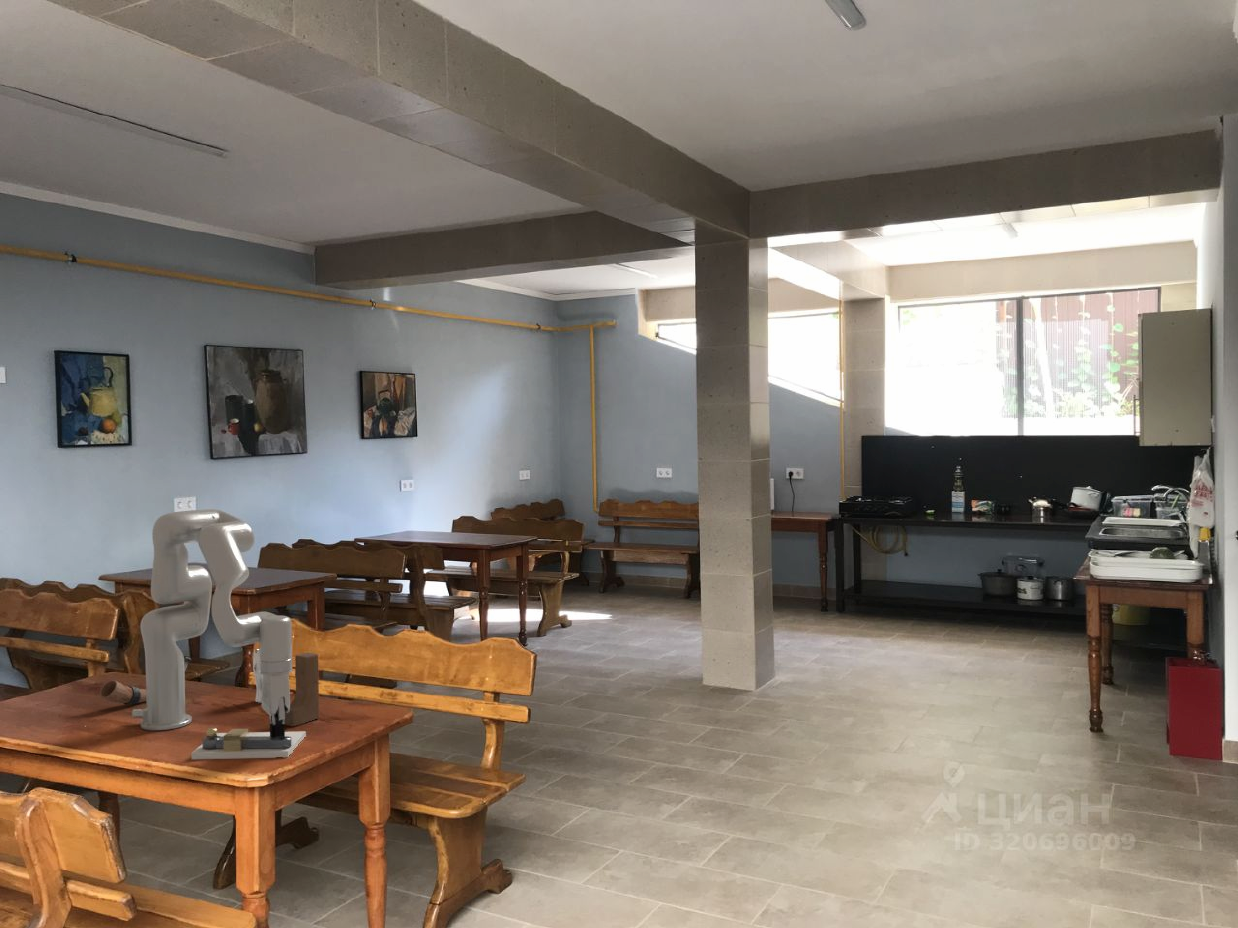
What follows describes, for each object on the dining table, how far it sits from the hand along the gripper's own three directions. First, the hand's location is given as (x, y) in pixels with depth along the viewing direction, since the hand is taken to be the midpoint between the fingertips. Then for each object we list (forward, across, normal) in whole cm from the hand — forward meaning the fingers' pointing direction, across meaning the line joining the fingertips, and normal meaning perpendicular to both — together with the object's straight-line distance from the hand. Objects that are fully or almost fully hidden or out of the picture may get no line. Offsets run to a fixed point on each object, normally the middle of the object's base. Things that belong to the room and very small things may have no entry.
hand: (277, 738), depth 247 cm
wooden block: (+3, -20, +11) cm, 23 cm away
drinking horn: (+3, -67, -21) cm, 70 cm away
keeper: (+1, -3, -12) cm, 12 cm away
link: (+1, 0, -7) cm, 7 cm away
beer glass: (+3, -47, +8) cm, 48 cm away
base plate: (+2, -4, -6) cm, 7 cm away
